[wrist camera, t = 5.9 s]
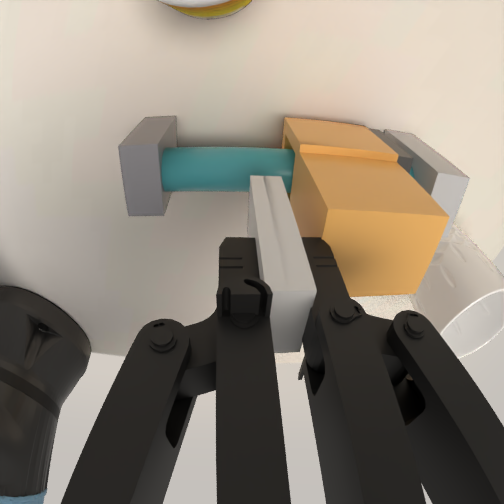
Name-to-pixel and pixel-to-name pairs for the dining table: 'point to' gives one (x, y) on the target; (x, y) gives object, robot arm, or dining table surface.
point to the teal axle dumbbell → (254, 167)
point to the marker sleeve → (362, 206)
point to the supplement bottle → (207, 7)
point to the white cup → (461, 294)
